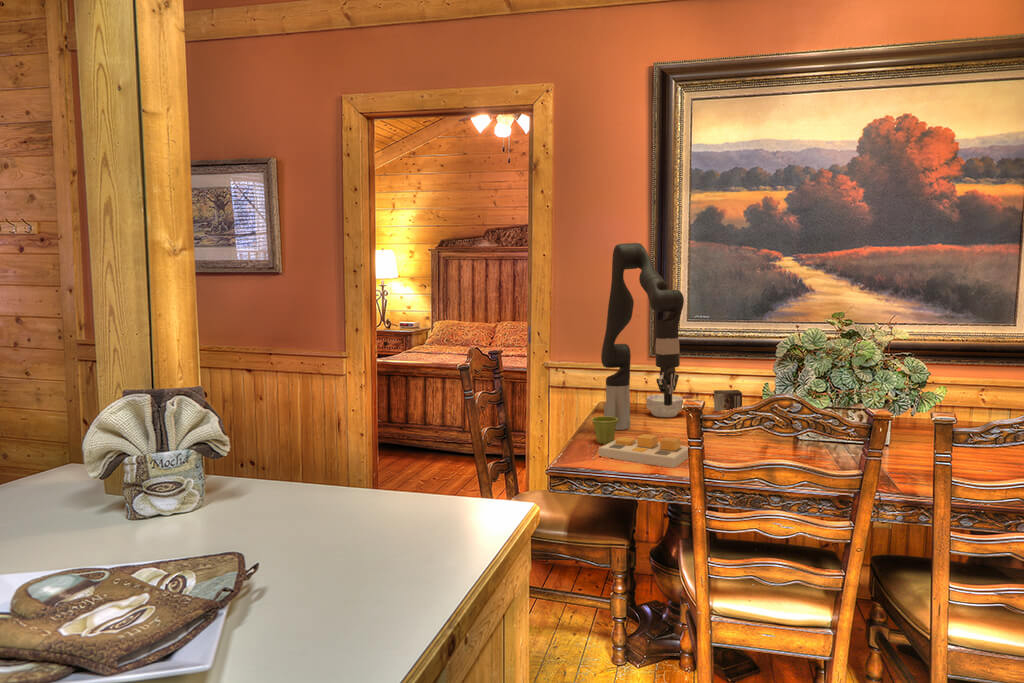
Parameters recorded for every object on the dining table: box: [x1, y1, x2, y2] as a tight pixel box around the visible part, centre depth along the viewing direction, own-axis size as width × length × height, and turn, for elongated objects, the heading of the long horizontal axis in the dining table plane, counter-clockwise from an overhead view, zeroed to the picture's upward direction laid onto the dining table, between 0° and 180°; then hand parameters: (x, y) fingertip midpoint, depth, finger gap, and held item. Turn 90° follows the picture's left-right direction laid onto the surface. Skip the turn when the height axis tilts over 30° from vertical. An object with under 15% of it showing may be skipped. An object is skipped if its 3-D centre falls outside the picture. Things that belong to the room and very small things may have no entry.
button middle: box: [636, 433, 659, 448], centre depth 218 cm, size 5×5×3 cm
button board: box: [598, 438, 689, 469], centre depth 217 cm, size 26×16×3 cm, turn 55°
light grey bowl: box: [645, 393, 684, 419], centre depth 278 cm, size 15×15×8 cm
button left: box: [615, 436, 637, 446], centre depth 223 cm, size 5×5×3 cm
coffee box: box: [713, 389, 744, 435], centre depth 243 cm, size 9×6×16 cm
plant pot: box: [591, 416, 618, 445], centre depth 236 cm, size 9×9×9 cm
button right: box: [659, 436, 682, 451], centre depth 213 cm, size 5×5×3 cm
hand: (668, 405), depth 212 cm, fingers closed
